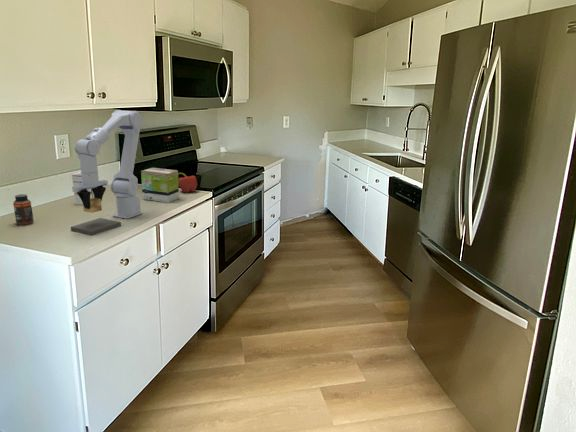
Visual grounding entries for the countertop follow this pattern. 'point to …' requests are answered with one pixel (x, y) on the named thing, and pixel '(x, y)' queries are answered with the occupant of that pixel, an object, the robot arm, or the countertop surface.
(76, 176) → the syrup box
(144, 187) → the tea box
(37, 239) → the countertop surface
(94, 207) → the oak cube
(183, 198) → the countertop surface
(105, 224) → the charcoal mat
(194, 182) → the vegetable
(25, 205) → the supplement bottle
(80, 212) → the countertop surface
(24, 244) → the countertop surface
